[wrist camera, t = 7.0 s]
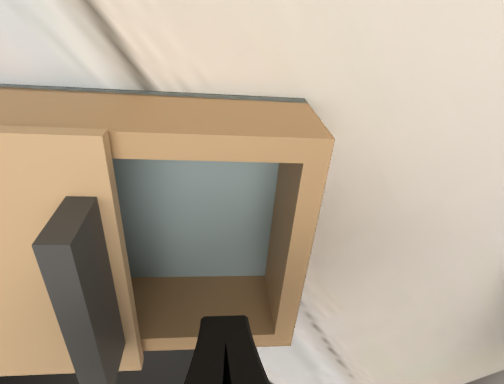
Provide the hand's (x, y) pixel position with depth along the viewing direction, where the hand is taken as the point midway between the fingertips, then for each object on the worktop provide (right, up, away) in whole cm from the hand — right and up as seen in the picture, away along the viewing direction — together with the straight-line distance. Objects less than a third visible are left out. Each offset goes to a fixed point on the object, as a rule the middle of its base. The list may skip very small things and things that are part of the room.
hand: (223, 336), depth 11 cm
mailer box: (-7, +4, +8) cm, 11 cm away
